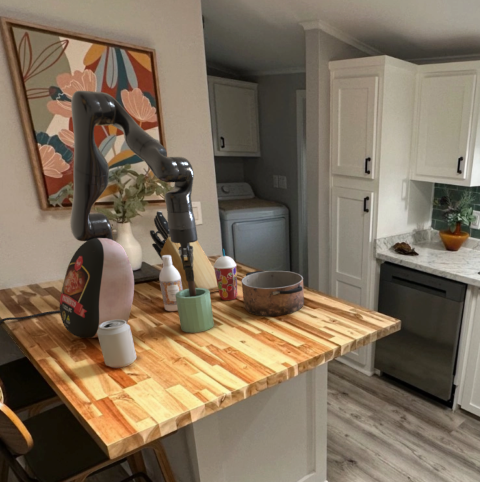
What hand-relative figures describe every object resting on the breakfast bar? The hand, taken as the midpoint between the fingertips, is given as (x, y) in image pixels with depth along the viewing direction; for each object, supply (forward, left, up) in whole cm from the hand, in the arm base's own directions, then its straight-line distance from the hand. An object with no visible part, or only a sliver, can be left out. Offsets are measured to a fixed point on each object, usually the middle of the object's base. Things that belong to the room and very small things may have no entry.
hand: (190, 279), depth 132 cm
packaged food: (-27, +4, -17) cm, 32 cm away
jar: (0, 0, -17) cm, 17 cm away
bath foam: (-8, +20, -17) cm, 27 cm away
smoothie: (+11, +26, -17) cm, 33 cm away
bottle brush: (0, 0, -13) cm, 13 cm away
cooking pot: (+27, +12, -17) cm, 34 cm away
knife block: (-4, +46, -17) cm, 49 cm away
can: (-19, -20, -17) cm, 32 cm away
